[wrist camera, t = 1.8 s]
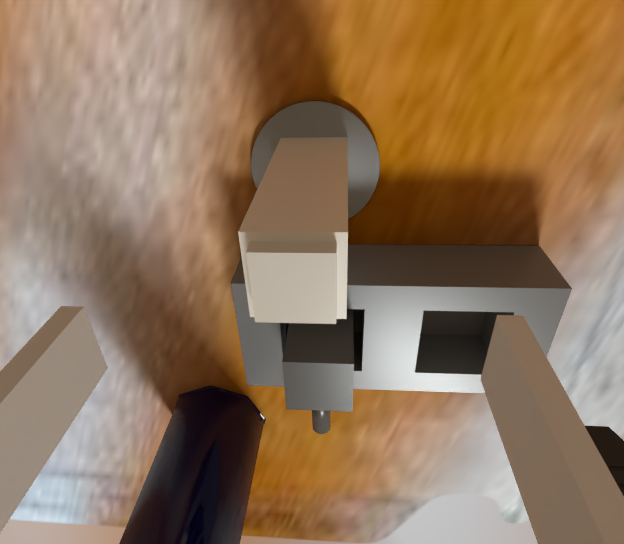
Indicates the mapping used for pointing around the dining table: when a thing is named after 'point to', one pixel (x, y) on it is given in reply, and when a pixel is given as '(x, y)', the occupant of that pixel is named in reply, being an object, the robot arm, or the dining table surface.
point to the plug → (299, 234)
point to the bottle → (200, 472)
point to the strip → (403, 323)
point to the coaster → (323, 123)
